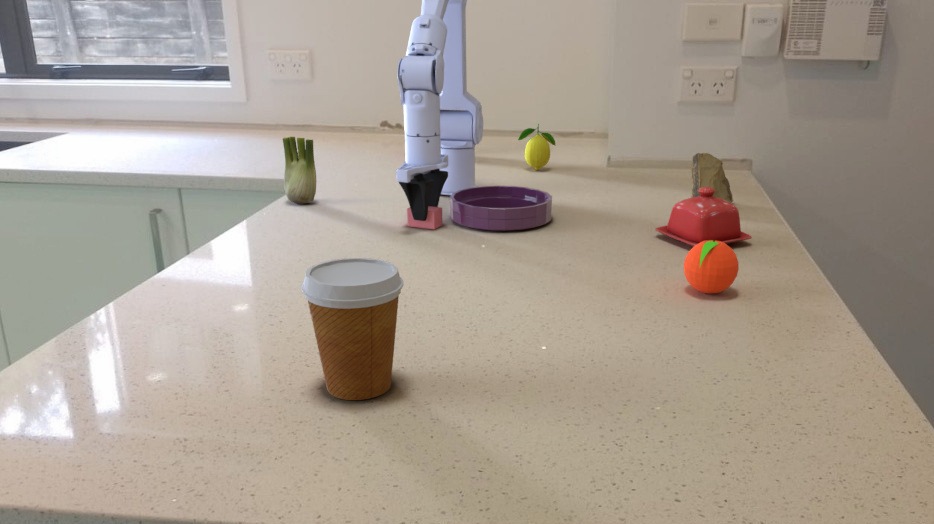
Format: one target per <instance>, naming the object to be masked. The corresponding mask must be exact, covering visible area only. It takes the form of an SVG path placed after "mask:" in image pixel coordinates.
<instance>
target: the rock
mask: <svg viewBox="0 0 934 524" xmlns="http://www.w3.org/2000/svg"><path fill="white" fill-rule="evenodd" d="M690 172H691V191H690V198H692V197H698V196H700V193H699V192H698V190H699V189H700V188H702V187H711V188H713V189H715V192H714V194H713V197H717V198H720V199H723V200H725V201H728V202H729V203H731V204H733V202H734V198H733V194H732V191H731V185H730V182H729V179H728V178H727V176H726V174H725V169H724V168H723V160H721V159H719V158H717V157H716V156H714V155H712V154H711V153H709V152H702V153H700V152H697V153H695V154H694V155H692V159H691V169H690Z"/></svg>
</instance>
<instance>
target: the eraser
mask: <svg viewBox="0 0 934 524" xmlns="http://www.w3.org/2000/svg"><path fill="white" fill-rule="evenodd" d="M406 217H407V220H406V221H407V227H412V228H420V229H429V230H436V229H438V228H440V227H442V226H443V207H441V206H438V207H432V206H428V214H427V219H426V220H425V221H420V220H414V219H413V216H412V212H411V209H410V206H409V207H407V208H406Z"/></svg>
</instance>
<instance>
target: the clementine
mask: <svg viewBox="0 0 934 524" xmlns="http://www.w3.org/2000/svg"><path fill="white" fill-rule="evenodd" d="M739 271H740V270H739V261H738V257H737V254H736V252H735V251H734V249H733V248H732V247H731V246H729V244H725V243H724V242H721V241H716V240H715V239H714V240H706V241H703V242H700V243H699V244H697V245H695V246H694V247H693V246H692V248H691V249H690V250H689V251H688V252H687V254H686V256H685V257H684V261H683V274H684V277H685V279H686V281H687V282H688V284H689V285H690V286H691V287H692V288H693V289H695V290H696V291H698V292H699V293H700V292H701V293H704V294H709V295H710V294H711V295H712V294H719V293H721V292H723V291H725V290H727V289H728V288H729V287H730V286H732V285H733V283H734V281H735V280H736V279H737V276H738V274H739Z"/></svg>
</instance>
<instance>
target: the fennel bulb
mask: <svg viewBox="0 0 934 524" xmlns="http://www.w3.org/2000/svg"><path fill="white" fill-rule="evenodd" d="M282 143H283V145H282V146H283V153H284V174H283V182H284V183H283V185H284V193H285V196H286V198H287V199H288V201H290V202H292V203H294V204H300V205H301V204H307V203H312V202H314V200H315V196H316V193H317V169H316V163H315V154H314V139H312V138H305V137H297V138H296V137H295V136H286V137H285V136H284V137H283V138H282Z"/></svg>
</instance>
